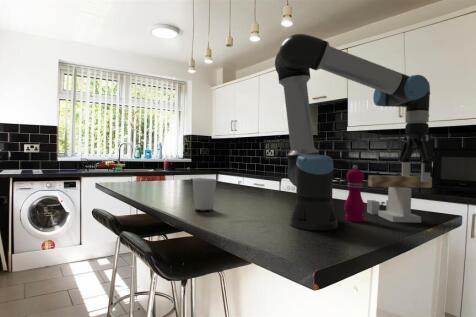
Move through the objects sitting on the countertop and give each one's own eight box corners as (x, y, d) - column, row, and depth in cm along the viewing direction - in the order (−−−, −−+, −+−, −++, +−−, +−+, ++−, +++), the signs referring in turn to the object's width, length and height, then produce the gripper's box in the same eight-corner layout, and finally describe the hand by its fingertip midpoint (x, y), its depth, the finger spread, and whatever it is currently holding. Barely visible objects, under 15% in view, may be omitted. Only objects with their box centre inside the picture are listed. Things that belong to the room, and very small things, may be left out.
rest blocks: (371, 214, 128) (372, 201, 128) (366, 212, 133) (367, 200, 133) (399, 214, 128) (399, 202, 128) (393, 212, 133) (393, 200, 133)
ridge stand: (392, 222, 114) (393, 188, 114) (378, 215, 126) (378, 185, 126) (421, 222, 114) (421, 188, 114) (403, 216, 126) (404, 185, 125)
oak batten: (371, 186, 118) (372, 175, 118) (368, 185, 121) (368, 175, 121) (431, 187, 118) (432, 176, 118) (426, 186, 121) (426, 176, 121)
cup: (188, 209, 134) (189, 178, 133) (211, 207, 138) (211, 178, 138) (196, 213, 125) (196, 180, 124) (219, 211, 129) (220, 180, 128)
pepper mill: (361, 218, 119) (362, 164, 119) (367, 222, 112) (368, 165, 112) (341, 217, 120) (342, 164, 119) (346, 222, 113) (347, 165, 112)
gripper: (448, 120, 107) (446, 183, 107) (409, 126, 132) (407, 178, 132) (426, 119, 107) (424, 182, 107) (391, 126, 132) (389, 177, 132)
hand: (414, 180), depth 119 cm, fingers open, 13 cm apart
